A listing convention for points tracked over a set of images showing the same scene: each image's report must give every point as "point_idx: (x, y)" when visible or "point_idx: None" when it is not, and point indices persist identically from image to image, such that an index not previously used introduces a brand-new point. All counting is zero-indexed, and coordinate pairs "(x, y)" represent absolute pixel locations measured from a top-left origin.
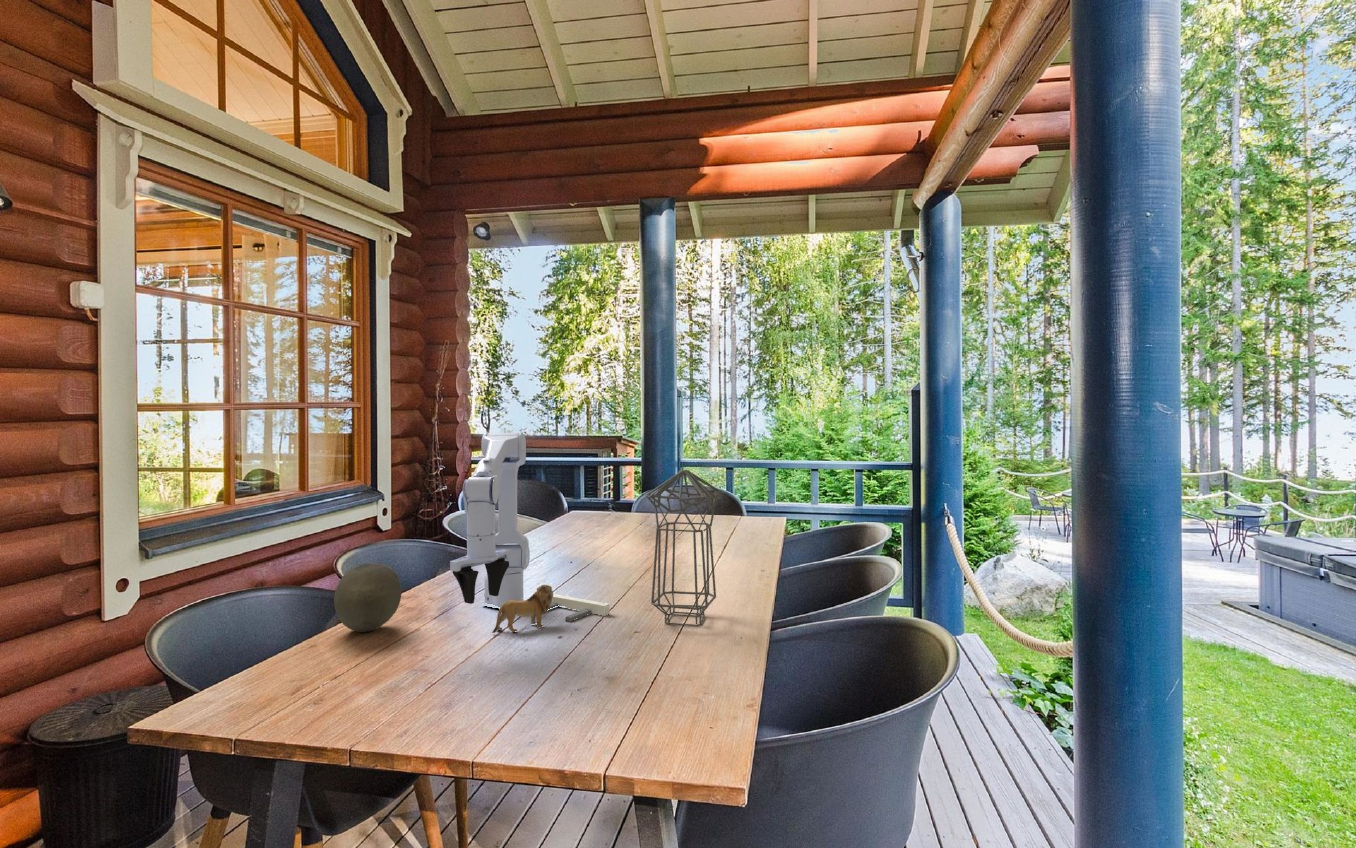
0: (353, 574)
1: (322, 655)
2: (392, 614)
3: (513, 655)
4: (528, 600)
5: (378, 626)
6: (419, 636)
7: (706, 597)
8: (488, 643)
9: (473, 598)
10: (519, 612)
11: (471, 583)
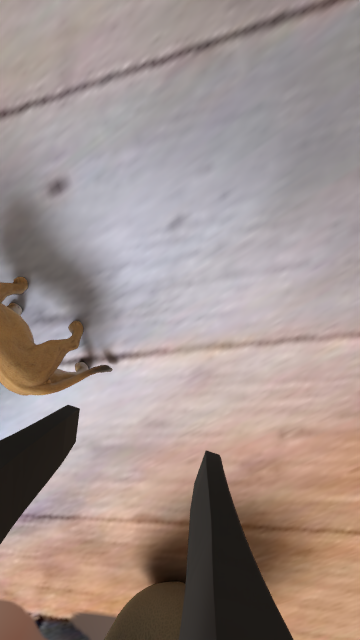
0: None
1: (317, 600)
2: (161, 599)
3: (227, 234)
4: None
5: (184, 586)
6: (173, 499)
7: None
8: (165, 347)
9: (214, 469)
10: (28, 336)
11: (255, 587)
